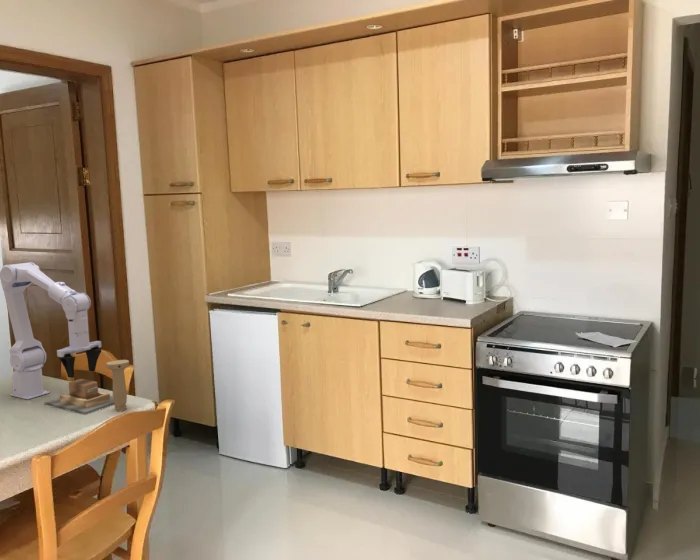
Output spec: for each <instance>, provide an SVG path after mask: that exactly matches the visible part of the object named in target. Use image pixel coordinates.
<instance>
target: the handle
mask: <svg viewBox="0 0 700 560" xmlns="http://www.w3.org/2000/svg"><path fill="white" fill-rule="evenodd" d="M129 365H130V361H129V360H128V359H118V360H112V361H107V362H106V368H107V369H109V370H111V373H112V396H113V400H114V405H113V406H114V409H115V411H116V412H123V411H125V410H127V399H128V395H127V394H128V393H127V392H128V391H127V385H126V378H125V376H126V375H125V369H126V368H128V367H129Z"/></svg>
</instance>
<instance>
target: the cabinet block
mask: <svg viewBox="0 0 700 560" xmlns="http://www.w3.org/2000/svg"><path fill="white" fill-rule="evenodd" d="M98 391H99V385H98V381H95V380H89V379H84V378H79V379H76V380H72V381H69V382H68V393H69V395H70V396H73V397H78V398H82V399H86V400H89V399H92V398H95V397H98Z"/></svg>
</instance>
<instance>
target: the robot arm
mask: <svg viewBox="0 0 700 560" xmlns="http://www.w3.org/2000/svg"><path fill="white" fill-rule="evenodd" d="M0 283H1V287H2V291H3V293H4V298H5V302H6V306H7V311H8V314H9V319H10V323H11V327H12V331H13V332H12V333H13V335H14V336H13V337H14V340H15V343H14V344H13V345H12V346H11V348H10V349H9V353H10V357H9V362H10V363H9V364H10V367H11V368H12V369H13V370H14V371H13V372H12V374H11V375H12V376H11V382H12V393H10V396H11V397H12V396H13V397H15V398H19V399H25V400H31V399H34V398H38V397H40V396H44V395H46V394H50V391H48V390H44V384H43V383H44V381H43V380H44V379H43V370H42V369H43V367H44V364H45V363H46V361H47V352H46V351H45V349H44V347H43V345H42V344H43V343H42V342H41V341H40V340H38V339H36V338H34V333H33V329H32V325H31V321H30V318H29V317H30V316H29V312H28V307H27V304H26V300H25V296H24V291H25V290H26V289H27V288H28V287H30V285H32V283H33V284H34V285H36V286H38V287H39V288H41V289H43V290H45V291H46V292H47V294H48V295H47V296H48V297H49V298H50V299H52V300H53V301H55V302H56V303H57V304H60V305H61V307H62V309H63V311H64V314H65V318H66V319H67V325H68V326H67V328H68V339H69V340H68V341H69V342H68V343H69V346H66V347H64V348H60V349H57V350H56V355H57V357H58V358H57V359H58V360H59V361H60V362H61V364H62V365H63V367H64V370H65V372H66V375H67V377H68V378H71V379H73V378H75V361H76V356H73V354H78V353H81V352H85V354H86V358H87V367H88V371H89V372H92V373H93V372H96V367H97V364H98V359H99V357H100V355H101V353H102V349H101V348H102V341H101V340H95V341H90V333H89V318H88V317H89V316H88V310H90V308H91V305H92V300H91V298H90V296H89V295H88V294H87V293H86V292H77V291H76V290H75V289H72V288H71V287H70V286H68V285H66V283H65V282H64V281H54V280H53V279H51V277H49V276H47V275H46V274H45V273H44V272H43V271H42V270H41V268H40V266H39V265H37V264H35V263H34V262H32V261H28V262H23V263H14V264H12V263H11V264H4V265H3V266H2V268H1V269H0Z"/></svg>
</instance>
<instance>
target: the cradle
mask: <svg viewBox="0 0 700 560" xmlns="http://www.w3.org/2000/svg"><path fill="white" fill-rule="evenodd" d="M113 404H114V400H113V395H111V394H110V393H108V392H102V391H99V390H98V397H95V398H92V399H89V400H86V399H82V398H78V397H73V396H70V395H69V394H63V393H62V394H60V395H59V397H57V398H53V399H50V400H46V401H44V405H45V406H48V407H49V406H50V407H54V408H57V407H58V408H57V409H61V408H62V410H65V409H67V410H66V411H69V410H70V411H69V412H73V411H74V413H77V412H78V414H81V413H82V414H81V415H85V414H86V415H88V413H89V414H91V413H95V412H98V411H99V409H100V410H103V409H106V408H108V407H111V406H114V405H113ZM110 405H111V406H110ZM107 406H108V407H107ZM105 407H106V408H105ZM102 408H103V409H102Z"/></svg>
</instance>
